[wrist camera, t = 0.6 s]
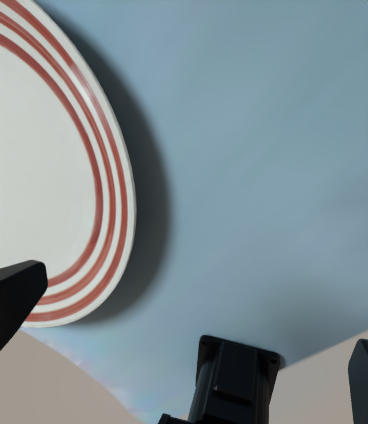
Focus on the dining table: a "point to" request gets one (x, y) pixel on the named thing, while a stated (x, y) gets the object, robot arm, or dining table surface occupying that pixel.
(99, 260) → the dinner plate
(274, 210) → the dining table surface
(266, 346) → the dining table surface
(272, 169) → the dining table surface
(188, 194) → the dining table surface
